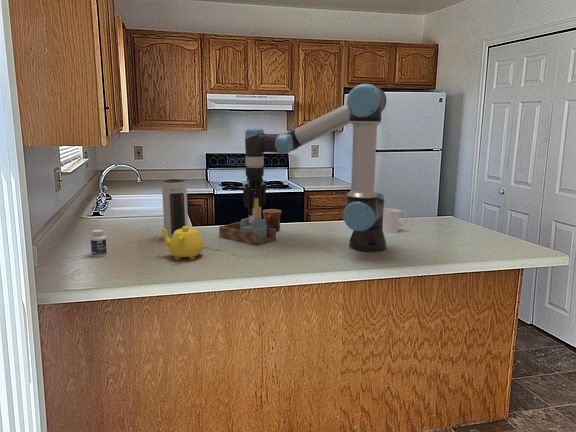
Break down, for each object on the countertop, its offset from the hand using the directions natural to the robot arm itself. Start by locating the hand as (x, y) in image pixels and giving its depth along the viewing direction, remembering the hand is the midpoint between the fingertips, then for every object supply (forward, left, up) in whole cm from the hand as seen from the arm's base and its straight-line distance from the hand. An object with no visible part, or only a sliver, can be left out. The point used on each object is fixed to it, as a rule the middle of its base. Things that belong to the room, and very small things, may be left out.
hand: (255, 222), depth 205 cm
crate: (+1, 0, -8) cm, 8 cm away
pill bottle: (+33, +52, -9) cm, 63 cm away
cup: (-34, -60, -9) cm, 70 cm away
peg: (0, 0, -2) cm, 2 cm away
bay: (+4, 0, -9) cm, 10 cm away
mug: (+6, -18, -9) cm, 21 cm away
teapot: (+8, +33, -9) cm, 35 cm away
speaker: (+31, +17, -9) cm, 37 cm away
